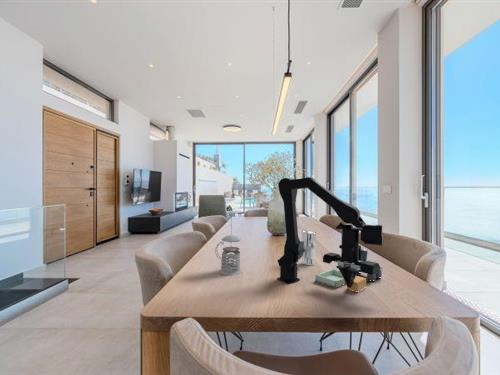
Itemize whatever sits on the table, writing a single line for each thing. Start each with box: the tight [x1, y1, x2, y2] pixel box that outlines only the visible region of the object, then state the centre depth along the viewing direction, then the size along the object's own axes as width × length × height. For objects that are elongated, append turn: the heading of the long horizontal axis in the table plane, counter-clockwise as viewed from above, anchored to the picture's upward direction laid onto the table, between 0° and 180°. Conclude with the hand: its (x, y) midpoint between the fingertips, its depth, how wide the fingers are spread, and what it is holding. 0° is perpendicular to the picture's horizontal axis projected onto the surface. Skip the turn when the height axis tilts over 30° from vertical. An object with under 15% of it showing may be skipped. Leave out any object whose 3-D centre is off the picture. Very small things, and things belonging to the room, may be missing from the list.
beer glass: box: [300, 230, 317, 266], centre depth 127 cm, size 7×7×15 cm
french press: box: [214, 212, 243, 276], centre depth 114 cm, size 10×12×25 cm
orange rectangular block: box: [346, 275, 367, 293], centre depth 97 cm, size 7×4×4 cm, turn 134°
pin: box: [361, 248, 369, 263], centre depth 110 cm, size 2×2×6 cm
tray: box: [314, 268, 346, 289], centre depth 104 cm, size 12×9×2 cm
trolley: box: [353, 261, 383, 282], centre depth 109 cm, size 9×10×6 cm
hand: (349, 287), depth 94 cm, fingers closed
